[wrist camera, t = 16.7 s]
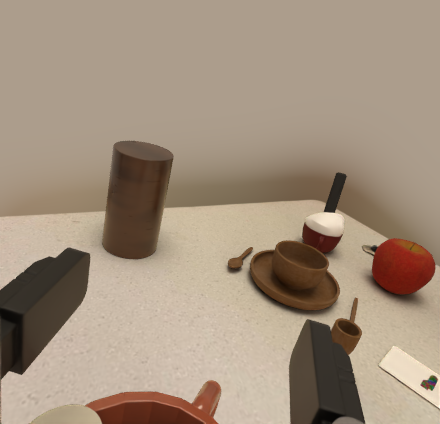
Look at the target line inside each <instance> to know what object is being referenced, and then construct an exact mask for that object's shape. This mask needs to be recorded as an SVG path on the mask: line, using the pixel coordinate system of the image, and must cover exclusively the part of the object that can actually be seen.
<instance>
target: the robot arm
mask: <svg viewBox="0 0 440 424" xmlns="http://www.w3.org/2000/svg"><path fill="white" fill-rule="evenodd" d="M89 266H90V254H89V253H86V252H83V251H79V250H76V249H72V248H67V249H65V250H64V251H63V252H62V253H61V254H60V255H58V256H57V257H56V258H53V257H47V258H44V259H42V260H39V261H37V262H35V263H33V264H32V265H31V266H30V267H28V268H27V269H26V270H25V271H24V272H22V273H21V274H20V275H18V276H17V277H16V279H13V280H12V281H11V282H10V283H9V284H7V285H6V286H5V287H4V288H2V289H1V290H0V424H1V379H2V378H3V377H4V376H5V375H6V374H7V372H8V371H11V372H14V373H17V374H20V375H22V374H23V373H24V372H25V371H26V369H27V368H28V367H29V366H30V365H31V363H32V362H33V361H34V360H35V359H36V357H37V356H38V355H39V354H40V353H41V351H42V350H43V349H44V348H45V347H46V345H47V344H48V343H49V342H50V341H51V339H52V338H53V337H54V336H55V335H56V333H57V332H58V331H59V330H60V328H61V327H62V326H63V325H64V324H65V322H66V321H67V320H68V319H69V318H70V316H71V315H72V314H73V313H74V312H75V310H76V309H77V308H78V307H79V306H80V304H81V303H82V301H83V299H84V297H85V294H86V291H87V285H88V276H89ZM352 372H353V369H352V365H351V361H350V357H349V356H348V354H347V353H346V351H345V350H344V348H343V347H342V345H341V344H337V343H334V342H333V341H332V336H331V330H330V327H329V325H326V324H322V323H319V322H316V321H312V320H309V319H307V320H306V322H305V324H304V326H303V328H302V331H301V333H300V335H299V338H298V340H297V342H296V345H295V347H294V349H293V352H292V355H291V359H290V365H289V384H290V419H291V424H365V420H364V416H363V412H362V407H361V403H360V399H359V395H358V390H357V386H356V384H355V378H354V373H352Z"/></svg>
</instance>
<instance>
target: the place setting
mask: <svg viewBox="0 0 440 424" xmlns="http://www.w3.org/2000/svg"><path fill="white" fill-rule="evenodd" d="M252 249H253V248H252V247H250V248H248V249H247V250H246V251H245V252H244V253H243V254H242V255H241V256H240V257H237V258H232V259H230V260H229V261H228V265H229V267H231V268H234V269H235V268H239V267H241V266H242V265H243V261H242V259H243V257H245V256H246V255H247V254H248V253H250V252H251V251H252ZM328 266H329V262H328V259H327V258H326V257H325V255H324V254H323V253H321V252H320V251H319V250H317V249H315V248H314V247H312V246H309V245H307V244H304V243H301V242H297V241H282V242H279V243H278V244H277V245H276V248H275V250H265V251H261V252H259V253H257V254H255V255H254V256H253V258H252V260H251V263H250V272H251V275H252V278H253V279H254V281H255V283H256V284H257V285H258V287H259V288H260V289H261V290H262V291H264V292H265V293H266V294H267V295H269V296H270V297H272V298H273V299H275V300H277V301H279V302H280V303H283V304H285V305H288V306H291V307H294V308H298V309H303V310H320V309H324V308H327V307H329V306H331V305H332V304H333V303H334V302H335V301H336V300H337V298H338V296H339V294H340V288H339V285H338V283H337V281H336V279H335V278H334V277H333V276H332V275H331V274H330V273H329V272H328V271H327V269H328ZM357 303H358V298H355V299H354V303H353V307H352V313H351V319H350V320H347V319H343V318H340V319H337V320H336V322H335V323H334V325H333V328H332V330H331V336H332V341H333V342H334V343H337V344H341V345H342V347H343V348H344V350H345V351H346V353H347V354H348V355H349V354H350V353H351V352H352V351H353V350H354V348H355V347H356V345H357V343H358V341H359V339H360V337H361V335H362V331H361V329H360V328H359V327H358V326H357V325H356V324H355V323H354V320H355V315H356V310H357Z"/></svg>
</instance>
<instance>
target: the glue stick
mask: <svg viewBox="0 0 440 424" xmlns="http://www.w3.org/2000/svg"><path fill="white" fill-rule="evenodd" d="M29 424H102V422H101V419H100V417H99V416H98V414H97V413H96V412H95V411H93V410H92V409H90V408H89V407H86V406H83V405H65V406H61V407H57V408H54V409H52V410H50V411H48V412H46V413H44V414H42V415H40V416H39V417H37V418H36V419H34V420H33V421H32V422H31V423H29Z"/></svg>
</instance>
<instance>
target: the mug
mask: <svg viewBox="0 0 440 424" xmlns="http://www.w3.org/2000/svg"><path fill="white" fill-rule="evenodd" d="M220 396H221V387H220V385H219V384H218V383H217V382H216V381H213V380H210V381H207V382H206V383H205V384H204V385H203V386H202V388H201V389H200V391H199V393H198V394H197V396H196V398H195V399H194V401H193V402H192V404H191V403H189V402H187V401H186V400H183V399H182V398H178V397H174V396H170V395H166V394H163V393H159V392H124V393H119V394H116V395H112V396H109V397H105V398H102V399H99V400H95V401H93V402H90V403H89V404H87V405H85V406H86V407H89V408H90V409H92V410H93V411H95V412H96V413H97V414H98V416H99V417H100V419H101V422H102V424H218V423H217V422H216V421H215V420H214V419H213V417H214V414H215V411H216V408H217V405H218V402H219V399H220Z"/></svg>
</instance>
